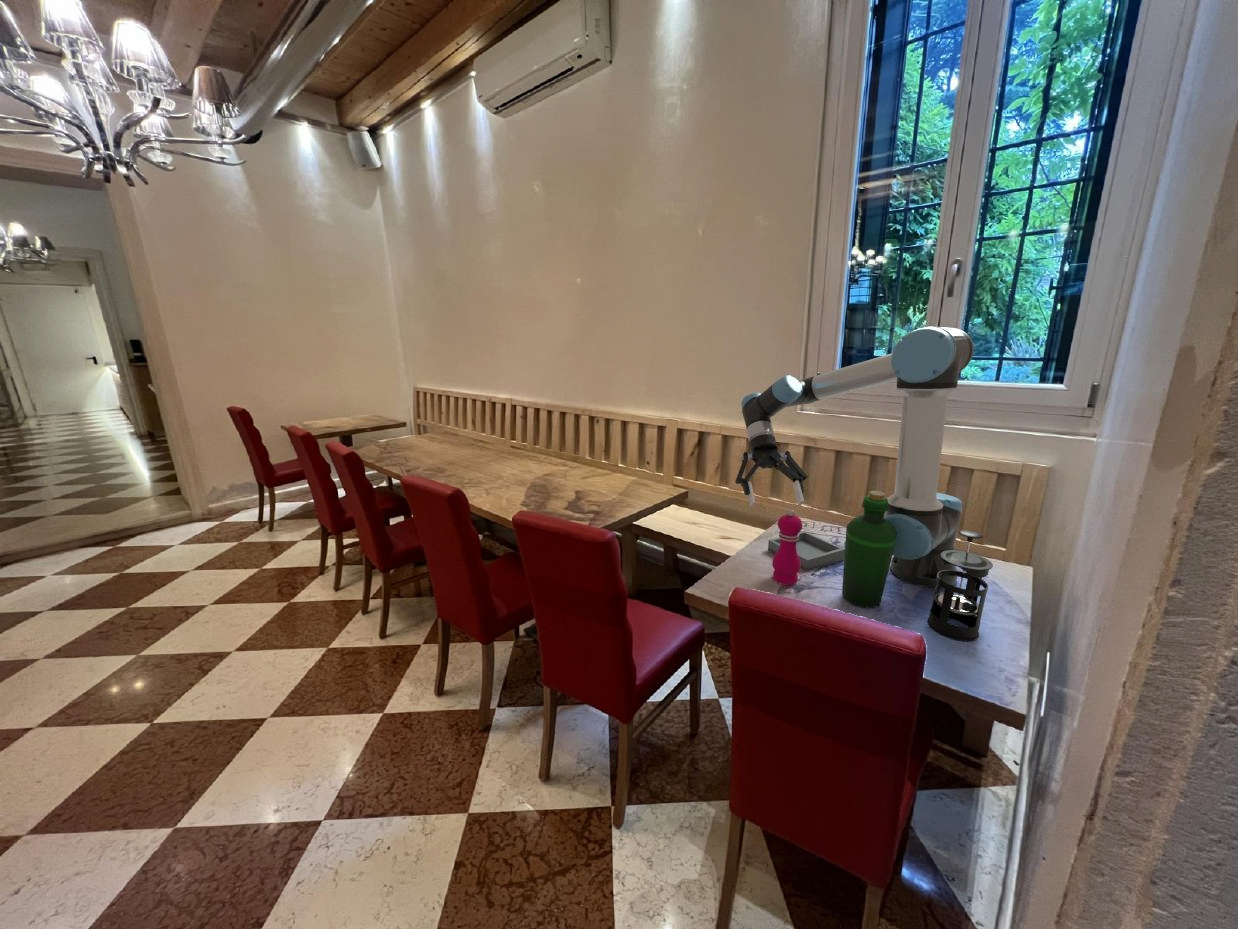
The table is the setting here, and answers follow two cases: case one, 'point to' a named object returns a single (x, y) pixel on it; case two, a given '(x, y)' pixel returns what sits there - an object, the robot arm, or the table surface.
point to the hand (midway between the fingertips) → (777, 504)
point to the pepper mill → (787, 550)
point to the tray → (812, 551)
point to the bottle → (868, 553)
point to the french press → (958, 605)
